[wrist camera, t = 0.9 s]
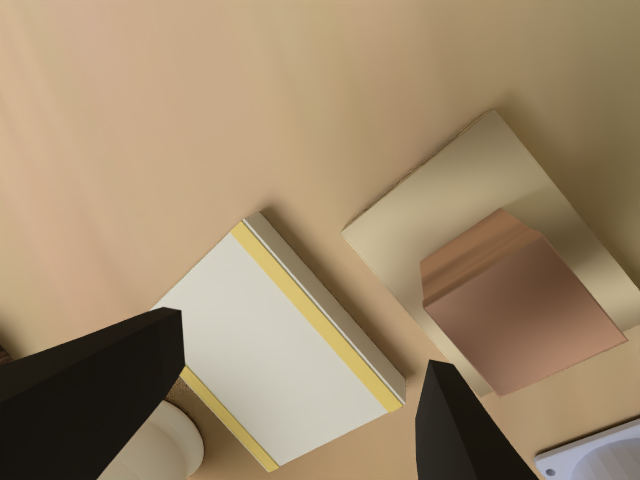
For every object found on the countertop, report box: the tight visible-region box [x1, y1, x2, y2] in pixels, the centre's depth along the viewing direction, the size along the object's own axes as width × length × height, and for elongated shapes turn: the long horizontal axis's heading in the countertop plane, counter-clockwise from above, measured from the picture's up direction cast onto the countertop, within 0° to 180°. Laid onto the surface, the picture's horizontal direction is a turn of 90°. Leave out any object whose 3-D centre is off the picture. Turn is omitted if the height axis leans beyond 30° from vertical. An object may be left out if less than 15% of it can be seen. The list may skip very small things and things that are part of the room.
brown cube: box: [420, 208, 629, 398], centre depth 14 cm, size 5×5×5 cm
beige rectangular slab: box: [340, 108, 640, 397], centre depth 17 cm, size 12×9×2 cm
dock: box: [150, 212, 406, 472], centre depth 21 cm, size 14×12×2 cm
